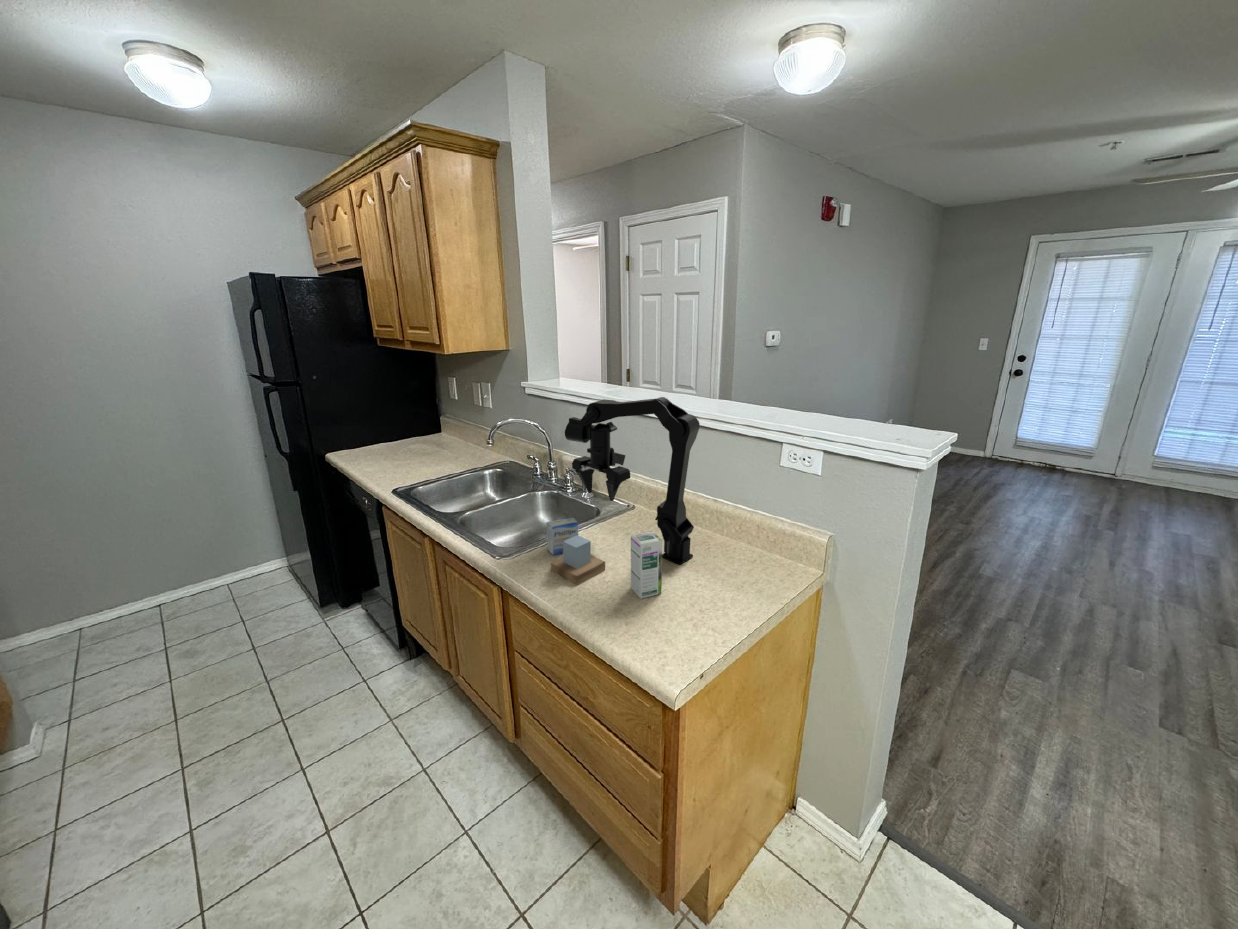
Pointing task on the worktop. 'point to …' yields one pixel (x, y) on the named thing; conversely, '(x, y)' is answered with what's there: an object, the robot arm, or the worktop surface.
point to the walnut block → (578, 570)
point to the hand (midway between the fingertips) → (600, 496)
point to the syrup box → (646, 564)
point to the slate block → (576, 551)
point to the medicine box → (560, 533)
